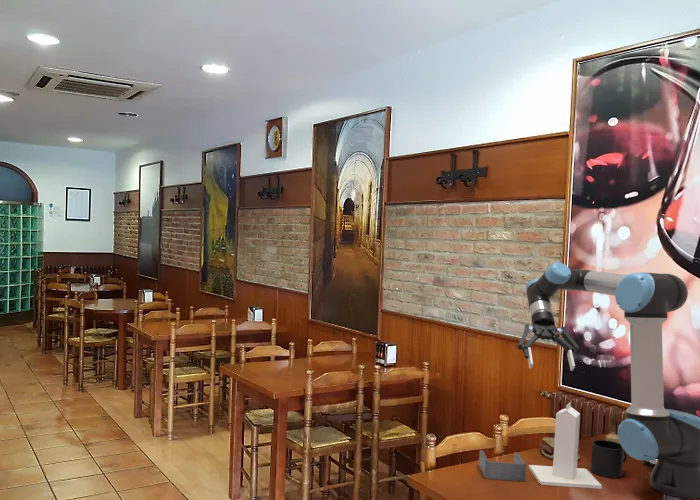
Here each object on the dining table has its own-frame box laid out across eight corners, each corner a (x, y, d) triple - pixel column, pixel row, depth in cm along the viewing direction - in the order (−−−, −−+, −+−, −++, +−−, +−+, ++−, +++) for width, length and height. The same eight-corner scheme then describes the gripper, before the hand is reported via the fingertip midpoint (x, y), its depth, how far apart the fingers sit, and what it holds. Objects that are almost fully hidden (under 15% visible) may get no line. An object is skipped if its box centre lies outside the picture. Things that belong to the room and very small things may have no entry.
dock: (516, 468, 201) (517, 452, 201) (525, 481, 190) (526, 464, 190) (478, 465, 201) (479, 450, 201) (484, 478, 190) (485, 462, 190)
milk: (576, 474, 196) (581, 403, 195) (572, 480, 191) (577, 407, 190) (556, 469, 199) (561, 399, 199) (551, 475, 194) (556, 403, 193)
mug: (636, 477, 199) (637, 448, 199) (603, 478, 196) (605, 449, 196) (615, 466, 208) (617, 439, 208) (584, 468, 205) (586, 440, 205)
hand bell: (595, 450, 224) (598, 405, 224) (606, 446, 230) (608, 402, 229) (618, 457, 218) (621, 411, 218) (629, 452, 224) (631, 407, 223)
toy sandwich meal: (552, 463, 208) (553, 449, 208) (533, 450, 221) (534, 436, 221) (587, 463, 210) (588, 449, 210) (566, 449, 224) (567, 436, 224)
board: (585, 471, 201) (585, 468, 201) (601, 488, 187) (601, 485, 187) (528, 468, 202) (528, 464, 202) (540, 484, 188) (540, 481, 188)
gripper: (574, 325, 226) (587, 375, 211) (504, 321, 227) (511, 371, 212) (580, 311, 221) (593, 362, 206) (508, 308, 221) (516, 358, 206)
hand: (552, 367), depth 209 cm, fingers open, 13 cm apart
